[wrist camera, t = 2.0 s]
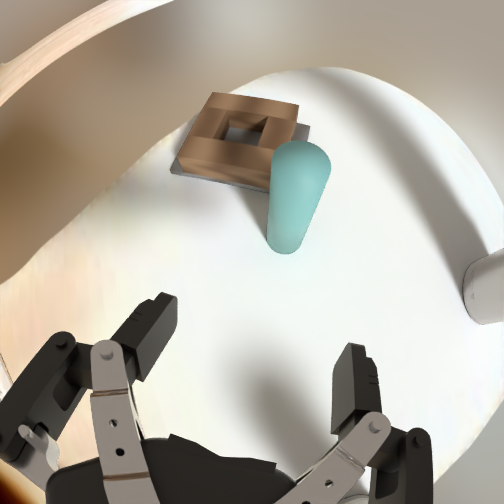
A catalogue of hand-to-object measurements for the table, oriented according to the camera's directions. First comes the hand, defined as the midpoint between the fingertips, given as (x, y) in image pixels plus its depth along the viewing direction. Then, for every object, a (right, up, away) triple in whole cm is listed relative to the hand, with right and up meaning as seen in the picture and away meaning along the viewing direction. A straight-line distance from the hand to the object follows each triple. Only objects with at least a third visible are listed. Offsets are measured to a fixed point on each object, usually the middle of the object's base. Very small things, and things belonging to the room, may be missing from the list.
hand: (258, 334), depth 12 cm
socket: (-1, +17, +23) cm, 29 cm away
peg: (+3, +5, +19) cm, 20 cm away
